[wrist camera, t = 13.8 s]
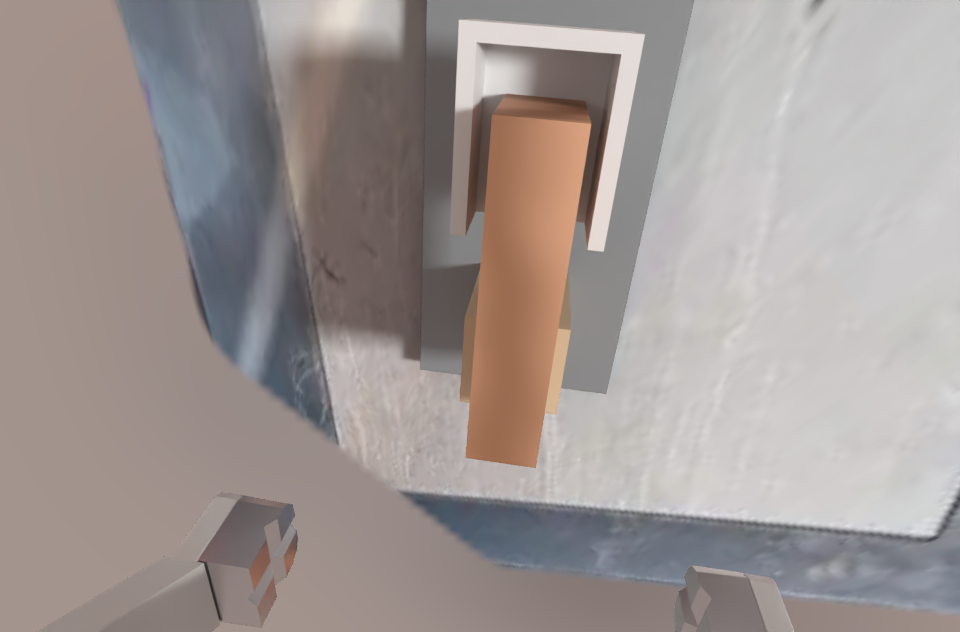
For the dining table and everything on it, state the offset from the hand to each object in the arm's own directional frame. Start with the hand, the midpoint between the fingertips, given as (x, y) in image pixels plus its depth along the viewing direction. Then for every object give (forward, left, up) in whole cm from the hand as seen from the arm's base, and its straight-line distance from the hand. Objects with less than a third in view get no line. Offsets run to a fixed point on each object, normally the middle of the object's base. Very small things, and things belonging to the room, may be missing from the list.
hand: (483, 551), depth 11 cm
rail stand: (0, 0, -23) cm, 23 cm away
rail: (0, 0, -15) cm, 15 cm away
